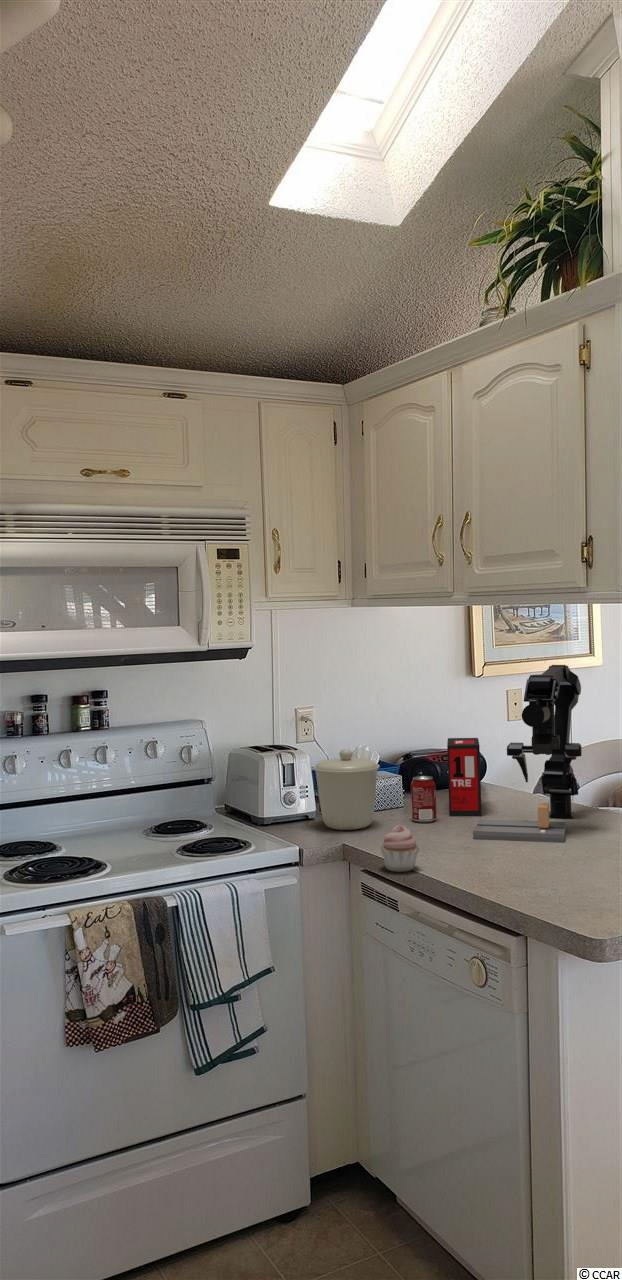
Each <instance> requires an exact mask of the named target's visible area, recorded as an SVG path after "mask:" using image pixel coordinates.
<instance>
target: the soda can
mask: <svg viewBox="0 0 622 1280" xmlns="http://www.w3.org/2000/svg"><path fill="white" fill-rule="evenodd" d="M433 779H434V778H433V776H430V775H429V776H428V775H419V776H418V775H417V776H414V777H412V781H411V783H410V801H411V802H410V803H411V808H410V809H411V819H412V820H413V821H414V822H415V823H419V824H420V823H421V824H427V823H433V822H434V821H436V819H437V796H436V795H437V794H436V792H437V791H436V788H437V787H436V783H435V781H434V780H433Z"/></svg>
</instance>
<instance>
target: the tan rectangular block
mask: <svg viewBox="0 0 622 1280" xmlns="http://www.w3.org/2000/svg"><path fill="white" fill-rule="evenodd" d="M549 811H550V802H539V803H538V806H537V821H538V827H542V828H548V827H549V823H550V822H551V821H550V817H549Z"/></svg>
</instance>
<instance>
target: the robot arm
mask: <svg viewBox="0 0 622 1280" xmlns="http://www.w3.org/2000/svg"><path fill="white" fill-rule="evenodd" d="M579 678H580V677H579V675H577V674H576V673H574V672H573V671H571V670H570V667H569V666H568V665H566V664H552V665H549V666H548V668H547V669H546V670H545V671H544V672H542V673H541V674H530V675H529V676H528V678H527V679H526V681H525V683H526V684H525V690H524V695H523V702H528V705H526V706H524V708H523V710H522V712H521V718H522V721H523V723H524V724H525V725H526V726H528V727H531V728H532V729H531V731H532V736H531V745H524V742H509V744H508V745H507V746H506V755H507V756H508V757H509V756H511V759H513V760H516V761H517V763H518V765H519V767H520V769H521V772H522V775H523V777H524V779H525V783H528V782H529V774H528V773H529V772H528V767H527V757H526V753H529V754H533V755H535V756H539V755H546V756H550V758H549V759H546V760H545V762H544V769H543V772H542V773H541V786H542V793H543V795H549V818H554V819H557V818H558V819H559V818H562V819H573V818H574V811H572V797H574V796H579V785H578V780H577V778H576V775H575V773H574V768H573V767H572V765H571V763H572V761H575V760H577V757H582V754H583V753H582V751H583V750H582V749H583V748H582V746H583V745H582V744H581V743H580V742H570V736H571V725H572V724H571V721H572V710H573V709H574V708H575V707H576V706H577V704H578V702H579V696H580V695H581V694H582V693H581V692H582V685H581V682H580V679H579Z"/></svg>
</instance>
